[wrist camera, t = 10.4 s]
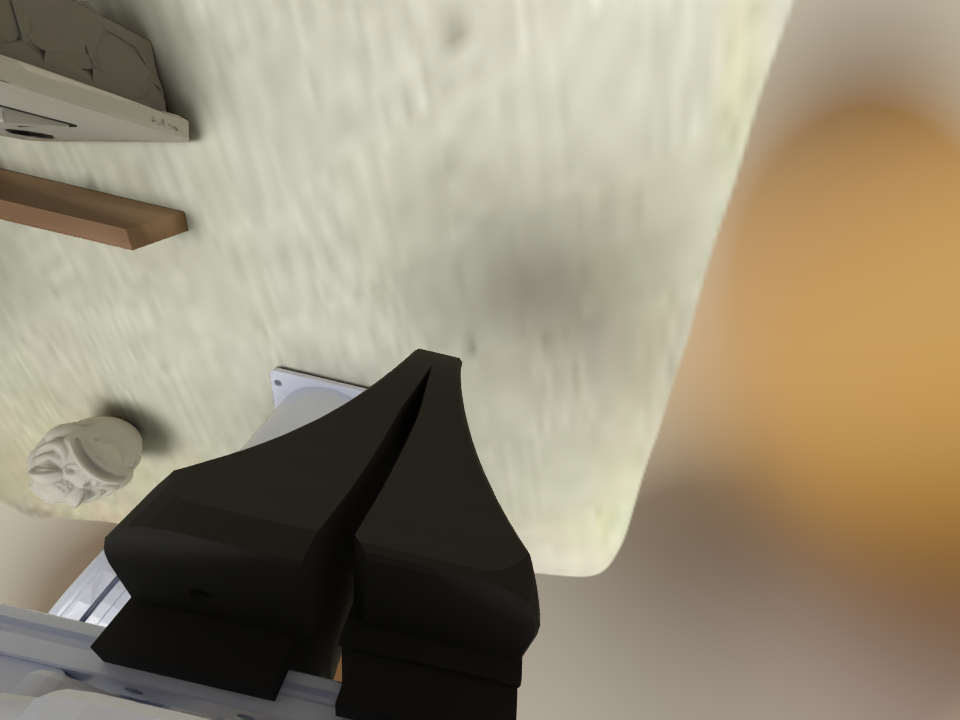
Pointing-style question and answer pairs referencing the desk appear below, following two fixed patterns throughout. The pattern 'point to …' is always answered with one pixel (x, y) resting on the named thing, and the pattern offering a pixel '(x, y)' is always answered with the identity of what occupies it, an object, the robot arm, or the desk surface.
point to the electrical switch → (78, 78)
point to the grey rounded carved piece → (84, 460)
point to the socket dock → (85, 212)
